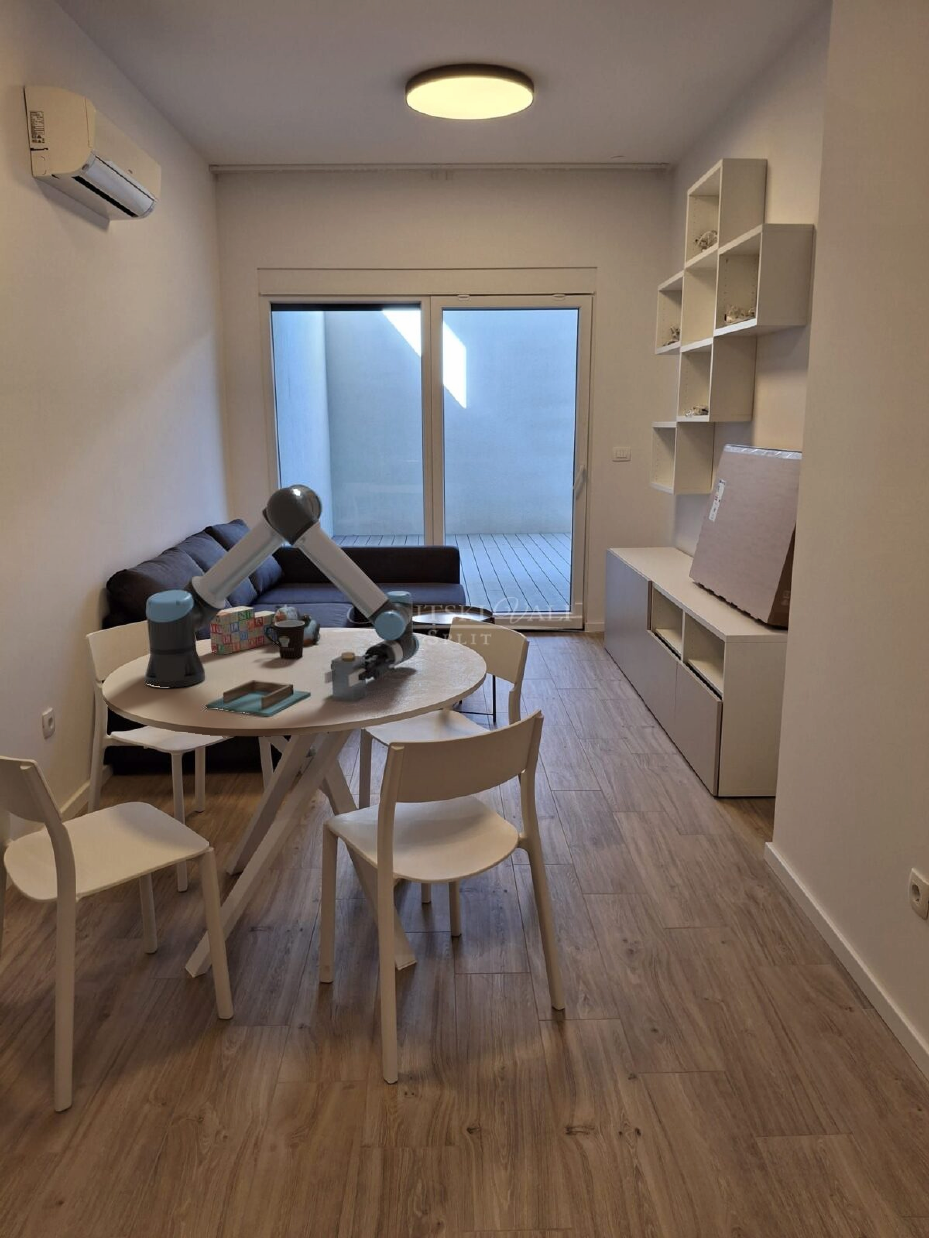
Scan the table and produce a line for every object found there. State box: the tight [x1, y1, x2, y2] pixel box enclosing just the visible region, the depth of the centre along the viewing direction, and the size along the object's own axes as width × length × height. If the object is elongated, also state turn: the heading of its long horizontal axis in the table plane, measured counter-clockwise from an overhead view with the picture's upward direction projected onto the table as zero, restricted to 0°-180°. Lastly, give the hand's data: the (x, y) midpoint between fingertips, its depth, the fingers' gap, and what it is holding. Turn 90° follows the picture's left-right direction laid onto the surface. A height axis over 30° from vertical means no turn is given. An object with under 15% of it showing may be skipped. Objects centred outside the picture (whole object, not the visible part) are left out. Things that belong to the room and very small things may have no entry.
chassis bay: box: [205, 679, 312, 718], centre depth 214 cm, size 18×18×3 cm
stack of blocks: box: [208, 605, 278, 655], centre depth 267 cm, size 21×6×12 cm, turn 141°
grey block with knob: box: [330, 651, 367, 703], centre depth 216 cm, size 6×6×11 cm
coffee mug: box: [266, 620, 305, 661], centre depth 256 cm, size 12×9×10 cm
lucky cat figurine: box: [273, 604, 322, 646], centre depth 272 cm, size 15×12×14 cm
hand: (338, 679), depth 211 cm, fingers closed on grey block with knob, 6 cm apart
